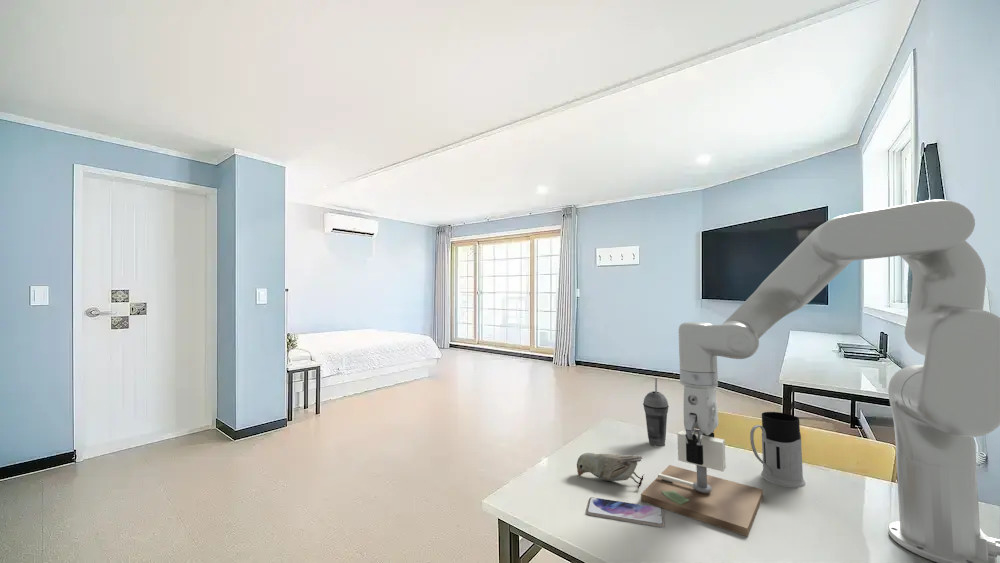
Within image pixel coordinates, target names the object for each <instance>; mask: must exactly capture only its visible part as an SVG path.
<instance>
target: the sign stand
mask: <svg viewBox="0 0 1000 563" xmlns="http://www.w3.org/2000/svg"><path fill="white" fill-rule="evenodd" d="M685 435H686V431H684V430H680V431H679V432H677V458H678V459H677V460H678V462H679V461H680V462H682V463H683V462H684V463H687V464H691V465H695V467H696V472H697V482H696V483H692V482H688V481H685V480H681V479H678V478H674V477H670V476H667V475H663V474H661V473H658V474H657V477H660V478H664V479H667V480H671V481H674V482H677V483H681V484H684V485H688V486H691V487H693V488H694V489H695V490H696V491H698V492H702V493H710V492H711V491H712V490H711V486H710V485H708V484H707V475H708V474H707V473H708V471H707V469H712V470H715V471H719V472H724V471H725V470H726V468H727V467H726V447H725V446H726V443H725V442H726V440H725V439H722V438H718V437H715V436H714V437H709V436H704V435H702V441H701V445H703V465H699V464H695V463H691V462H688V461H687V460H686V436H685ZM695 435H696V437H697V438H698V435H697V434H695Z"/></svg>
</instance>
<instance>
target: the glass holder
mask: <svg viewBox="0 0 1000 563" xmlns="http://www.w3.org/2000/svg"><path fill="white" fill-rule="evenodd" d="M800 424H801V423H800V418H799V417H798V416H796V415H793V414H789V413H785V412H779V411H765V412H762V413H761V425H760V424H756V425H753V426H752V428H751V430H750V432H749V435H750V436H749V440H750V445H751V449H752V452H753V454H754V456H755V457H756V459H757V460H758V461H759V462H760V463H761V464H762V471H761V473H760V476H761V477H762V478H763V479H764V480H766V481H767V482H769V483H772V484H775V485H776V486H777V485H778V486H782V487H786V488H794V489H795V488H802V487H805V486H806V481H805V479H804V476H803V475H804V474H803V473H804V472H803V452H802V434H801V430H800V428H801V426H800ZM758 428H760V429H761V451H762V458H761V457H760V455H759V454H758V452H757V449H756V445H755V439H754V437H755V436H754V434H755V431H756V429H758Z"/></svg>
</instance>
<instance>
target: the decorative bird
mask: <svg viewBox="0 0 1000 563" xmlns="http://www.w3.org/2000/svg"><path fill="white" fill-rule="evenodd" d="M642 459H643V454H642V455H639V454H635V455H634V454H625V455H620V454H616V453H593V452H586V453H582V454H580V455H579V457H578V458H577V461H576V468H577V475H578V476H582V475H583V474H585V473H589V474H591V475H593V476H594V477H596V478H598V479H601V480H603V481H608V482H609V481H613V482H621V481H628V479H632V480H633V481H634V483H636V484H638V486H637V489H638V491H639V488H641V486H642V482H643V480H644V475H645V473H643V474H642V476H641V477H640V476H638V475H637V474H636V472H635V470H636V469H637V466H638V463H639V462H642ZM633 475H635V477H636V478H638V479H639V482H638V481H637V480H636V479H635V477H634V476H633Z"/></svg>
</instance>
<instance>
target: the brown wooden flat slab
mask: <svg viewBox="0 0 1000 563" xmlns="http://www.w3.org/2000/svg"><path fill="white" fill-rule="evenodd" d="M660 474H663V475H667V476H670V477H674V478H678V479H681V480H685V481H688V482H692V483H696V482H697V471H695V470H691V469H686V468H683V467H679V466H674V465H670V464H669V465H668V466H667V467H666V468H665V469H664V470H663V471H662V472H661V473H660ZM707 484H708V485H710V486H711V490H712V491H711V492H710V493H702V492H698V491H696V490H695V489H694V488H693V487H691V486H688V485H684V484H681V483H677V482H674V481H671V480H667V479H664V478H660V477H658V476H657V477H656V478H654V480H653V481H652V482H651V483H650V484H649V485H648V486H647V487H645V489H644V490H643V491H642V492H641V493H640V500H641V502H643V503H646V504H650V505H651V506H654V507H659V508H661V509H664V510H667V511H670V512H673V513H676V514H679V515H683V516H685V517H689V518H691V519H693V520H697V521H699V522H703V523H707V524H709V525H713V526H715V527H718V528H720V529H722V530H723V529H724V530H727V531H729V532H733V533H736V534H737V535H741V536H745V537H749V535H750V533H751V532H750V531H751V529H752V527H753V524H754V521H755V520H756V516H757V513H758V511H759V509H760V506H761V504H762V500H763V499H764V490H763V488H758V487H754V486H751V485H748V484H745V483H744V484H743V483H739V482H736V481H734V480H733V481H732V480H728V479H725V478H721V477H717V476H714V475H709V474H707Z"/></svg>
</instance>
